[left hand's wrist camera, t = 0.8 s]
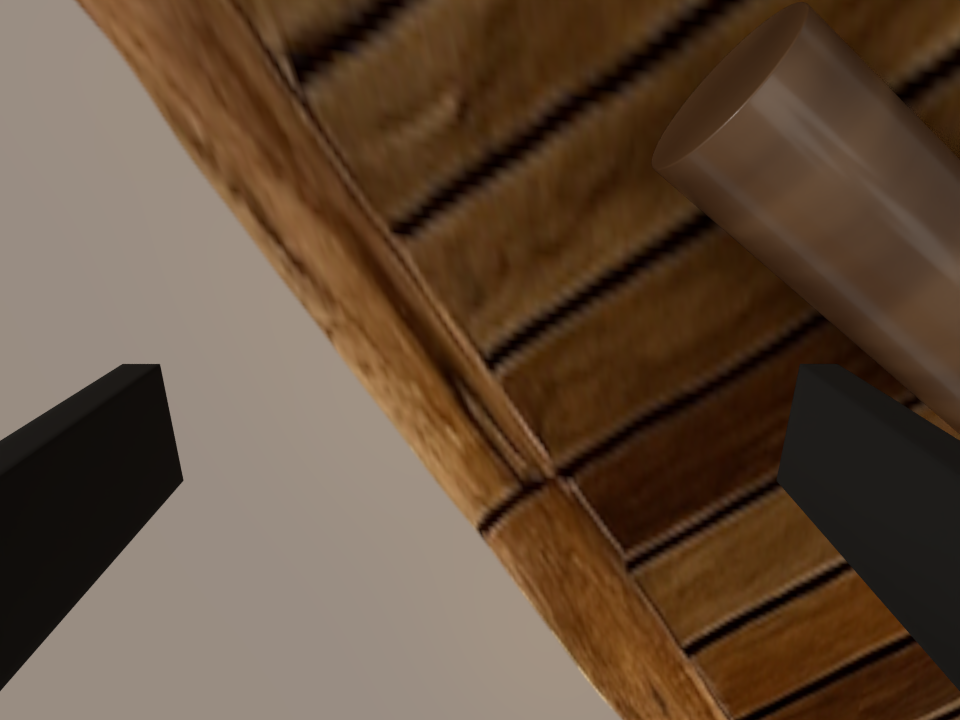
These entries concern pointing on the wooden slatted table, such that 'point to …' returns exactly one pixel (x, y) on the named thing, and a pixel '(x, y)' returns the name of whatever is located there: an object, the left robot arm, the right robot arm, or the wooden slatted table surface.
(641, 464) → the wooden slatted table surface
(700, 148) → the brown wooden cylinder
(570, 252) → the wooden slatted table surface
